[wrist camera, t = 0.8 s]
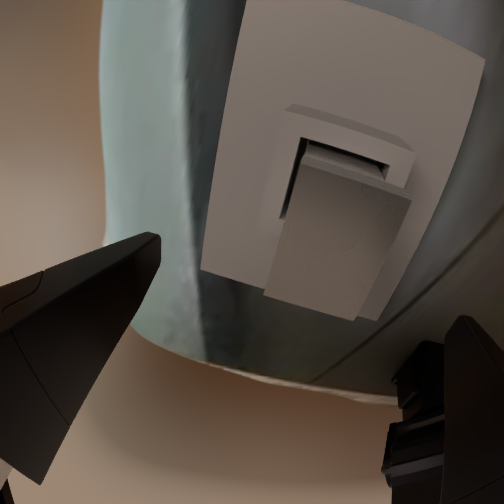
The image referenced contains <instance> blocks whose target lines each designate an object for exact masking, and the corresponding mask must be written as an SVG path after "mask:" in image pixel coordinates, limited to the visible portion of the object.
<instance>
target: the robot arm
mask: <svg viewBox="0 0 504 504" xmlns="http://www.w3.org/2000/svg"><path fill="white" fill-rule="evenodd" d="M160 263H161V237H160V236H159V235H158V234H155V233H151V232H144V233H141V234H138V235H135V236H133V237H130V238H127V239H124V240H121V241H119V242H116V243H113V244H110V245H108V246H105V247H102V248H100V249H97V250H94V251H92V252H89V253H86V254H84V255H81V256H78V257H76V258H73V259H70V260H68V261H65V262H63V263H60V264H58V265H55V266H53V267H50V268H48V269H45V271H40V272H38V273H35V274H33V275H30V276H28V277H25V278H23V279H20V280H18V281H15V282H12V283H9V284H6V285H3V286H1V287H0V504H14V501H13V497H12V494H11V490H10V487H9V483H8V479H7V477H8V475H9V473H10V472H11V470H12V468H15V469H16V470H17V471H19V472H20V473H22V474H23V475H25V476H26V477H28V478H29V479H31V480H32V481H34V482H35V483H37V484H38V485H41V483H42V482H43V480H44V478H45V475H46V474H47V472H48V469H49V467H50V465H51V463H52V461H53V459H54V457H55V455H56V453H57V451H58V450H59V448H60V446H61V443H62V441H63V440H64V438H65V436H66V434H67V432H68V430H69V428H70V427H69V426H71V424H72V422H73V420H74V419H75V417H76V415H77V413H78V411H79V409H80V407H81V405H82V404H83V402H84V400H85V399H86V397H87V395H88V393H89V391H90V390H91V388H92V386H93V384H94V383H95V381H96V379H97V377H98V375H99V374H100V372H101V370H102V368H103V367H104V365H105V364H106V362H107V360H108V358H109V357H110V355H111V353H112V352H113V350H114V348H115V347H116V345H117V343H118V342H119V340H120V338H121V336H122V335H123V333H124V332H125V330H126V329H127V327H128V325H129V324H130V322H131V320H132V319H133V317H134V316H135V314H136V312H137V311H138V309H139V307H140V305H141V303H142V301H143V299H144V297H145V295H146V293H147V291H148V289H149V287H150V285H151V283H152V280H153V278H154V276H155V274H156V272H157V270H158V268H159V266H160ZM424 346H425V347H424ZM391 381H392V385H393V386H397V393H398V407H399V409H402V413H403V421H402V422H398V423H396V422H394V423H391V424H390V426H389V431H388V434H387V441H386V448H385V454H384V460H383V465H382V468H381V472H382V474H384V475H385V477H386V481H387V484H388V486H389V487H390V488H392V504H504V352H503V351H502V349H501V348H500V347H499V346H498V345H497V344H496V343H495V342H494V340H493V339H492V338H491V337H490V336H489V335H488V334H487V333H486V332H485V330H484V329H483V328H482V327H481V326H480V325H479V324H478V323H477V322H476V321H475V320H474V319H473V318H472V317H471V316H467V315H460V316H458V318H457V319H456V320H455V322H454V323H453V325H452V326H451V327H450V329H449V330H448V332H447V333H446V336H445V340H444V345H442V344H438V343H434V342H430V341H423V342H422V343H421V344H420V345H419V346H418V348H417V349H416V350H415V351H414V353H413V354H412V355H411V357H410V358H409V359H408V360H407V361H406V362H405V364H404V365H403V366H402V367H401V369H400V370H399V371H398V372H397V373H396V375H395V376H394V377H393V379H392V380H391Z"/></svg>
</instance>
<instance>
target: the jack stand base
mask: <svg viewBox="0 0 504 504" xmlns="http://www.w3.org/2000/svg"><path fill="white" fill-rule="evenodd" d="M484 64H485V59H483V58H481V57H480V56H478V55H476V54H474V53H473V52H471V51H469V50H467V49H465V48H463V47H461V46H460V45H458V44H456V43H454V42H452V41H450V40H448V39H445V38H443V37H441V36H439V35H437V34H435V33H433V32H430V31H428V30H426V29H424V28H421V27H419V26H416V25H414V24H412V23H409V22H407V21H404V20H401V19H399V18H396V17H393V16H391V15H388V14H385V13H382V12H379V11H376V10H373V9H370V8H367V7H364V6H360V5H357V4H354V3H350V2H346V1H343V0H247V2H246V7H245V11H244V16H243V20H242V25H241V29H240V34H239V38H238V43H237V48H236V53H235V58H234V62H233V67H232V73H231V78H230V83H229V88H228V93H227V99H226V104H225V109H224V115H223V121H222V126H221V132H220V138H219V144H218V150H217V156H216V162H215V168H214V175H213V181H212V188H211V194H210V201H209V208H208V215H207V222H206V229H205V237H204V244H203V252H202V260H201V268H200V269H201V270H204V271H207V272H211V273H214V274H217V275H220V276H223V277H226V278H230V279H233V280H236V281H239V282H243V283H246V284H249V285H253V286H256V287H259V288H262V289H265V288H266V284H267V281H268V277H269V274H270V270H271V267H272V263H273V260H274V256H275V253H276V249H277V246H278V242H279V239H280V235H281V231H282V228H283V224H284V221H285V217H286V214H287V210H288V206H289V203H290V199H291V195H292V192H293V188H294V184H295V181H296V177H297V173H298V170H299V166H300V162H301V160H302V157H303V156H304V155H305V151H306V148H307V144H308V140H309V139H311V140H314V141H318V142H321V143H324V144H328V145H331V146H334V147H338V148H341V149H344V150H347V151H350V152H353V153H356V154H359V155H362V156H365V157H368V158H371V159H374V160H375V162H376V164H377V166H378V168H379V170H380V172H381V174H382V176H383V178H384V180H385V182H387V183H390V184H393V185H396V186H398V187H401V188H404V189H406V191H407V193H408V194H409V196H410V198H411V200H412V202H411V204H410V207H409V209H408V211H407V214H406V216H405V218H404V221H403V223H402V225H401V228H400V230H399V232H398V234H397V236H396V239H395V241H394V243H393V245H392V247H391V249H390V252H389V254H388V256H387V258H386V260H385V262H384V264H383V266H382V268H381V270H380V272H379V274H378V276H377V278H376V280H375V282H374V284H373V286H372V288H371V290H370V292H369V294H368V296H367V297H366V299H365V301H364V303H363V305H362V307H361V309H360V311H359V312H358V314H357V316H359V317H363V318H367V319H370V320H374V321H377V320H378V318H379V317H380V315H381V313H382V312H383V310H384V308H385V306H386V305H387V303H388V301H389V299H390V298H391V296H392V294H393V292H394V291H395V289H396V287H397V285H398V283H399V282H400V280H401V278H402V276H403V274H404V272H405V270H406V269H407V267H408V265H409V263H410V261H411V259H412V257H413V255H414V253H415V251H416V249H417V247H418V245H419V243H420V241H421V239H422V237H423V235H424V233H425V230H426V228H427V226H428V224H429V222H430V220H431V218H432V215H433V213H434V211H435V209H436V206H437V204H438V202H439V199H440V197H441V195H442V192H443V190H444V188H445V185H446V183H447V180H448V178H449V175H450V173H451V170H452V167H453V165H454V162H455V159H456V157H457V154H458V151H459V149H460V146H461V143H462V140H463V137H464V134H465V131H466V128H467V125H468V122H469V119H470V116H471V112H472V109H473V106H474V102H475V99H476V95H477V92H478V88H479V84H480V80H481V76H482V72H483V68H484Z"/></svg>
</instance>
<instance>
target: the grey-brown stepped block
mask: <svg viewBox="0 0 504 504" xmlns="http://www.w3.org/2000/svg"><path fill="white" fill-rule="evenodd" d="M411 202H412V200H411V198H410V196H409V194H408V193H407V191H406V189H404V188H401V187H398V186H396V185H393V184H390V183H387V182H385V180H384V178H383V176H382V174H381V172H380V170H379V168H378V166H377V164H376V162H375V160H374V159H371V158H368V157H365V156H362V155H359V154H356V153H353V152H350V151H347V150H344V149H341V148H338V147H334V146H331V145H328V144H324V143H321V142H318V141H314V140H311V139H309V140H308V144H307V148H306V151H305V155H304V156H303V157H302V160H301V162H300V166H299V170H298V173H297V177H296V181H295V184H294V188H293V192H292V195H291V199H290V203H289V206H288V210H287V214H286V217H285V221H284V224H283V228H282V231H281V235H280V239H279V242H278V246H277V249H276V253H275V256H274V260H273V263H272V267H271V270H270V274H269V277H268V281H267V284H266V288H265V291H264V294H263V295H265V296H268V297H271V298H275V299H278V300H281V301H285V302H288V303H291V304H295V305H298V306H302V307H305V308H309V309H312V310H316V311H319V312H323V313H326V314H330V315H333V316H337V317H341V318H344V319H348V320H351V321H354V320H355V318H356V316H357V314H358V312H359V311H360V309H361V307H362V305H363V303H364V301H365V299H366V297H367V296H368V294H369V292H370V290H371V288H372V286H373V284H374V282H375V280H376V278H377V276H378V274H379V272H380V270H381V268H382V266H383V264H384V262H385V260H386V258H387V256H388V254H389V252H390V249H391V247H392V245H393V243H394V241H395V239H396V236H397V234H398V232H399V230H400V228H401V225H402V223H403V221H404V218H405V216H406V214H407V211H408V209H409V207H410V204H411Z"/></svg>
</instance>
